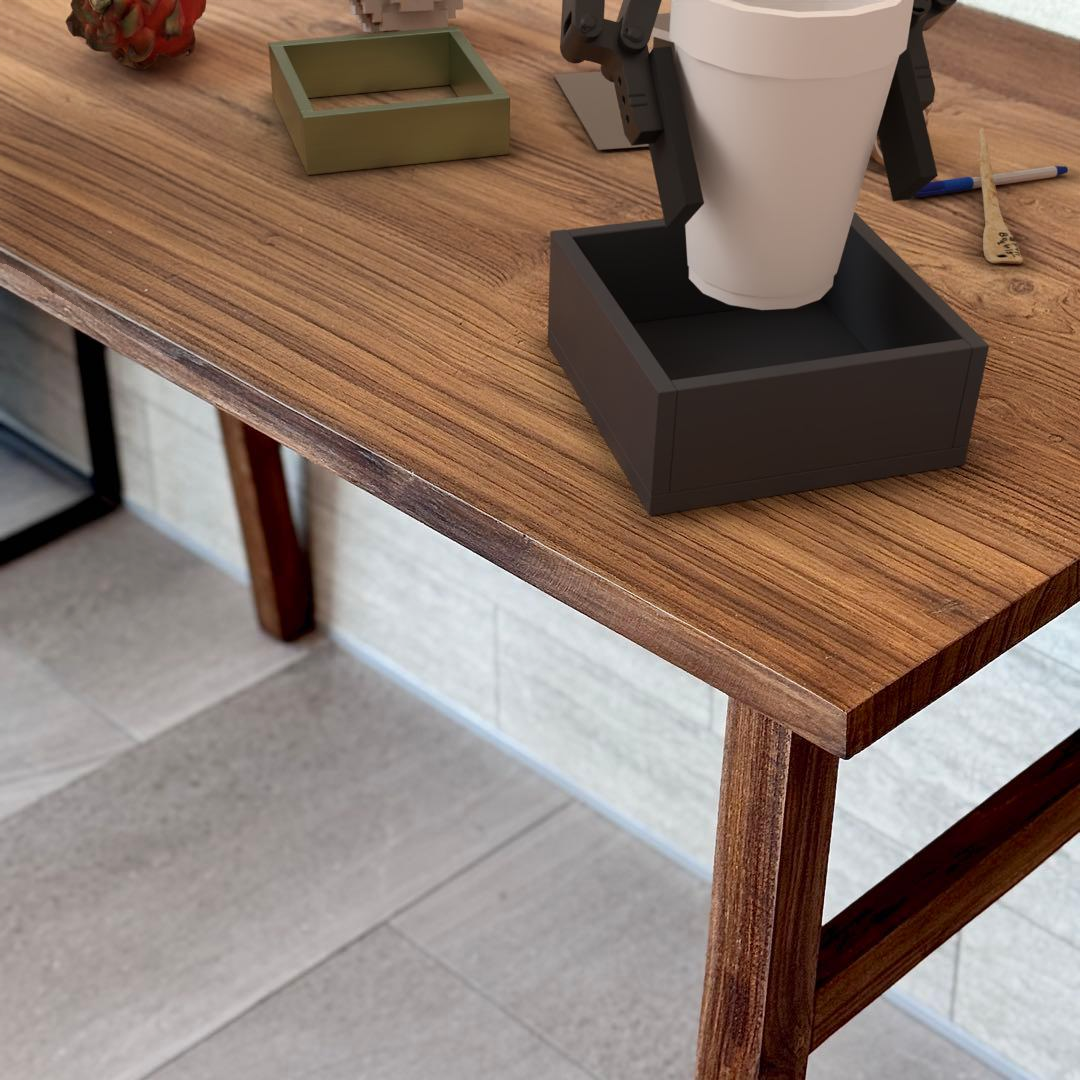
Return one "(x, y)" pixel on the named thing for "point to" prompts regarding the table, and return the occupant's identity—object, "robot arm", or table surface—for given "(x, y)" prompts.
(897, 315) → the dark grey square tray
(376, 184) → the table surface
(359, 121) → the olive square frame
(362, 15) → the caramel apple
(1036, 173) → the ballpoint pen
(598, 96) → the platform
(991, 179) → the tool
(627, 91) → the robot arm
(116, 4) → the dragon fruit
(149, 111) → the table surface
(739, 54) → the foam cup
